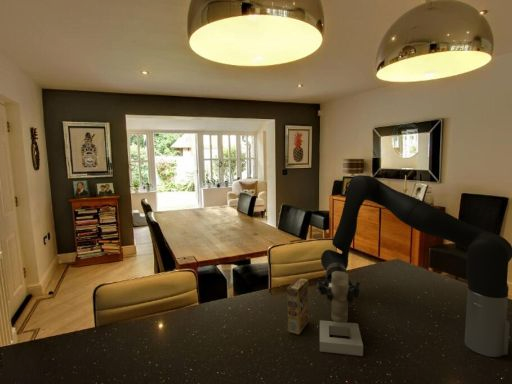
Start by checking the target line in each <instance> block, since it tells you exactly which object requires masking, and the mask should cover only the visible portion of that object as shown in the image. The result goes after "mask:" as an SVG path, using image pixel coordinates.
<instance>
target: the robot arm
mask: <svg viewBox="0 0 512 384" xmlns="http://www.w3.org/2000/svg"><path fill="white" fill-rule="evenodd" d="M346 188H347V189H346V194H345V199H344V203H343V208H342V212H341V215H340V219H339V222H338V225H337V227H336V231H335V233H334V236H333V238H332V240H331V242H332V246H334V247H335V248H337V250H339V251H341V252H337V251H335V250H332V249H326V250H324V251H323V253H322V254H321V258H320V261H321V266H322V267H323V268H324V270H325V280H324V281H322V280H321V279H317V280H316V283H317V284H316V286H317V287H316V288H317V290H318V291H319V293H320V295H323V296H325V295H326V298H327V300H329V301H330V302H331V301H332V273H333V272H335V271H342V272H346V273H347V274H348V275H349V273H348V271H347V269H348V265H349V256H350V255H349V254H350V248H351V246H352V243H353V240H354V238H355V237H356V233H357V228H358V217H359V213H360V211H361V208H362V205H363V204H364V202H365V201H370V202H372V203H373V204H374V203H375V204H377V205H379V206H381V207H383V208H385V209H386V210H388V211H389V212H390V213H391V214H392V215H393V216H394V217H396V219H398V220H399V221H400V222H402V223H404V224H405V225H407V226H408V227H411V228H412V229H414V230H416V231H418V232H421V233H422V234H425V235H429V236H431V237H434V238H439V239H442V240H446V241H448V242H452V243H454V244H456V245H458V247H459V246H460V247H462V248H463V249H464V250H467V253H466V280H467V294H466V295H467V296H466V311H465V331H464V345H465V346H466V347H467V348H468V349H470V350H471V351H473V352H474V353H477V354H480V355H482V356H484V357H485V356H486V357H490V358H500V357H502V356H508V353H509V342H510V341H509V340H510V328H511V327H510V326H511V324H510V322H509V321H508V320H507V314H508V303H509V302H508V301H509V285H508V272H509V262H510V261H511V260H512V245H511V243H510V242H509V241H508V240H507V239H506V238H504V237H502V235H499V234H496V233H494V232H490V231H488V230H485V229H482V228H481V227H477V226H475V225H472V224H469V223H468V222H465V221H463V220H461V219H459V218H457V217H456V216H453V215H451V214H449V213H447V212H446V211H443V210H441V209H439V208H437V207H436V206H434V205H431V204H429V203H427V202H425V201H423V200H421V199H418V198H416V197H413V196H412V195H409V194H406V193H404V192H401V191H398V190H395V189H394V188H392V187H391V186H389V185H387V184H385V183H384V182H382V181H381V180H379V179H377V178H375V177H374V176H371V175H363V174H358V175H355V176H353V177H352V178H351V179H350V180H349V181H348V184H347V187H346ZM360 292H361V283H360V281H357V282H356V283H352V282H351V281H350V277H349V276H348V304H351V303H352V302H353V301H354V298H358V297H359V295H360Z"/></svg>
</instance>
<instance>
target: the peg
mask: <svg viewBox="0 0 512 384" xmlns="http://www.w3.org/2000/svg"><path fill="white" fill-rule="evenodd" d="M347 273H348V272H347ZM347 273H346V272H342V271H335V272H333V273H332V301H330V302H331V303H330V304H331V305H330V306H331V309H330V310H331V311H330V313H331V314H330V315H331V316H330V317H331V318H330V319H332V321H334V322H340V323H343V322H346V323H347V321H348V319H349V317H348V314H349V313H348V312H349V311H348V309H349V303H348V277H349V273H348V274H347Z"/></svg>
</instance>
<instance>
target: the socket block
mask: <svg viewBox="0 0 512 384" xmlns="http://www.w3.org/2000/svg"><path fill="white" fill-rule="evenodd" d="M331 335H332V336H333V337H330V336H331ZM334 336H342V337H348V338H342V337H334ZM362 340H363V339H362V336H361V331H360V326H359V323H357V322H356V323H355V322H347V321H346V322H343V323H340V322H335V321H333V320H332V321H331V320H321V319H320V320H319V352H321V353H322V352H323V353H329V354H330V353H331V354H342V355H350V356H360V357H363V356H364V343H363V341H362Z"/></svg>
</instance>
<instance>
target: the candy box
mask: <svg viewBox="0 0 512 384" xmlns="http://www.w3.org/2000/svg"><path fill="white" fill-rule="evenodd" d="M286 289H287V290H286V291H287V293H286V297H287V298H286V299H287V300H286V301H287V332H288V333H292V334H294V335H295V334H296V335H300V334H301V333H302V331H303V330H304V329H305V327H306V325H308V323H309V279H305V278H301V277H297V278H296V279H295V280H294V281H292V282H291V283H290V284H289V285H288V286H287V288H286Z"/></svg>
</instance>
